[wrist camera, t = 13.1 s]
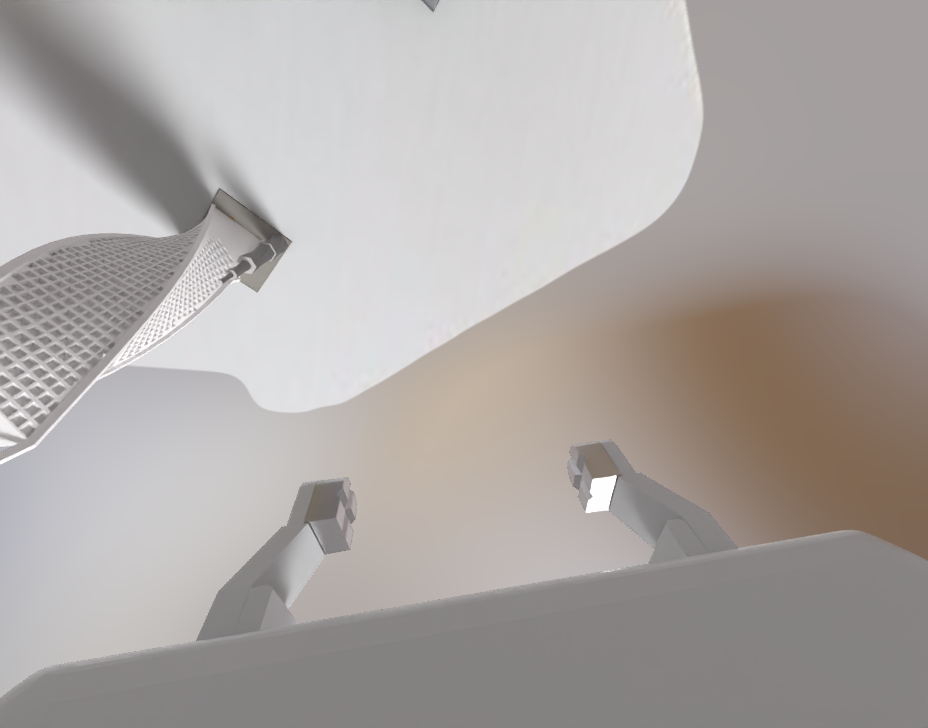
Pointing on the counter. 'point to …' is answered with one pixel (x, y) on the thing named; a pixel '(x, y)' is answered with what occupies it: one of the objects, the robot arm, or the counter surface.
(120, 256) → the skyscraper
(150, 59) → the counter surface
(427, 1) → the tray
